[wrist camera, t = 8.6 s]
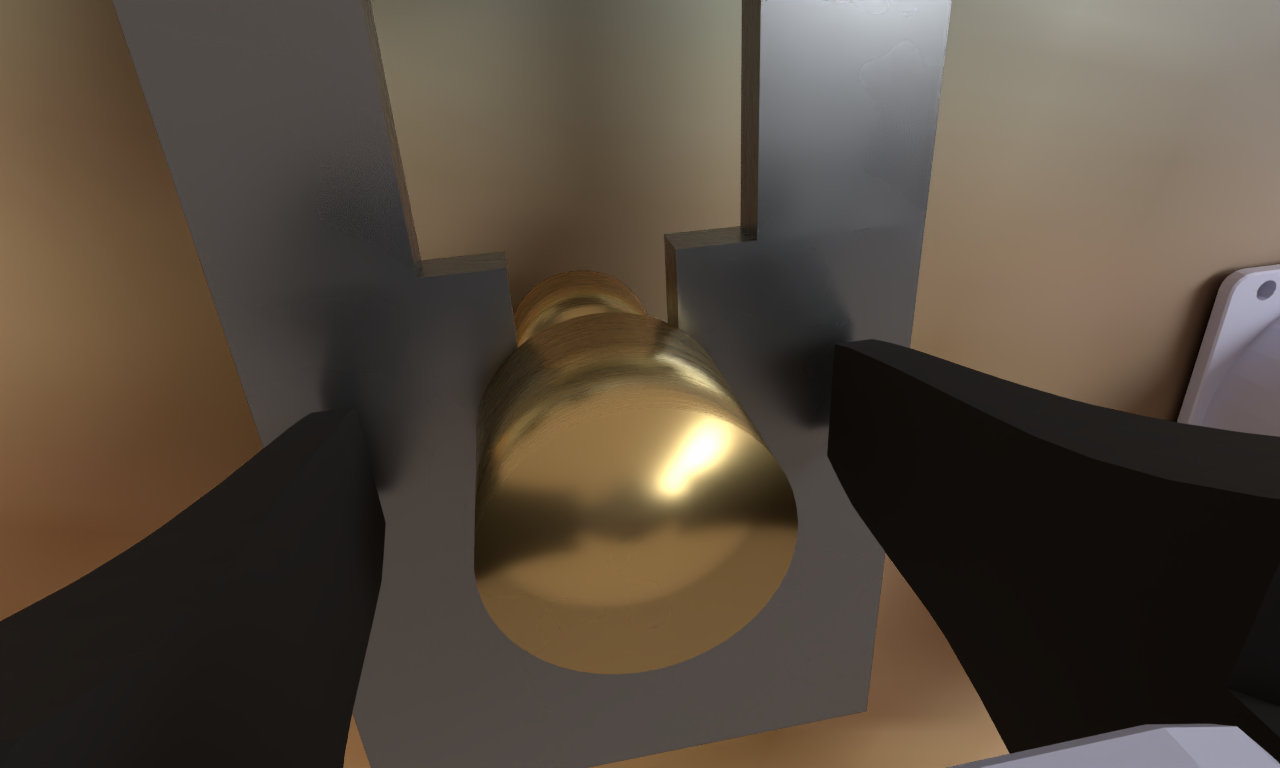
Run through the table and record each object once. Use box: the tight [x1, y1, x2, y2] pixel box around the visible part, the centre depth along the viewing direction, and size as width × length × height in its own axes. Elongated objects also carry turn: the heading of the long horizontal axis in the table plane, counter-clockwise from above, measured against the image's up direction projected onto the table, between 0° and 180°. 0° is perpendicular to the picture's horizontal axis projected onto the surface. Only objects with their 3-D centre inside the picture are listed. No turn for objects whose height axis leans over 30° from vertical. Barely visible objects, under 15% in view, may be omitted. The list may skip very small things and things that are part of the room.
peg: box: [474, 271, 798, 674], centre depth 12 cm, size 4×4×7 cm
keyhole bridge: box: [112, 0, 952, 768], centre depth 13 cm, size 10×20×5 cm, turn 3°
